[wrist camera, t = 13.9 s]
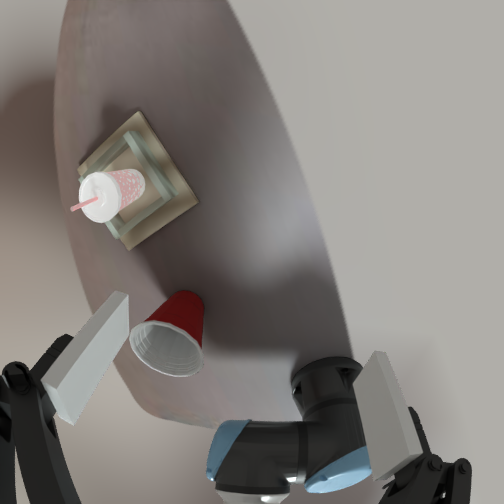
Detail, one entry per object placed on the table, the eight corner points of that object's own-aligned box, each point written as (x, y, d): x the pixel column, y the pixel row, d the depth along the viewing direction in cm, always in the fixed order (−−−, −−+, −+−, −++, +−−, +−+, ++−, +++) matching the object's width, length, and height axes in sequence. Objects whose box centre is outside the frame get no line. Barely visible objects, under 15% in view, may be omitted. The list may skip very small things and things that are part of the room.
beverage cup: (139, 156, 35) (79, 168, 22) (156, 194, 37) (103, 224, 24) (108, 175, 36) (45, 196, 23) (124, 211, 38) (67, 245, 25)
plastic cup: (154, 319, 47) (127, 364, 36) (161, 268, 42) (128, 310, 31) (211, 338, 47) (196, 389, 36) (226, 289, 43) (211, 339, 32)
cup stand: (199, 201, 38) (191, 208, 34) (131, 248, 41) (119, 258, 38) (140, 111, 33) (127, 109, 30) (80, 168, 37) (65, 172, 33)
